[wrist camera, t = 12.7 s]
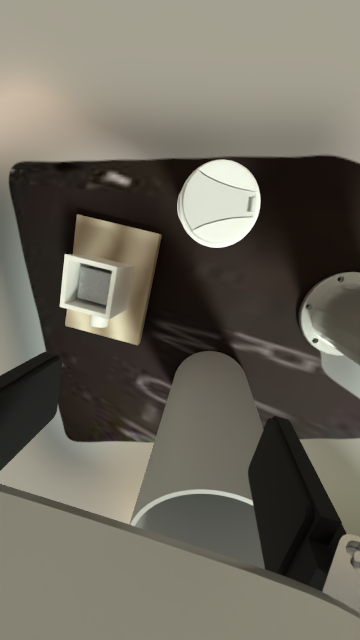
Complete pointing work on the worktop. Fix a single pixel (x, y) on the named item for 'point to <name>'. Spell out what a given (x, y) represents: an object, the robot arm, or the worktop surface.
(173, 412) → the cylinder vase
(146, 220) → the worktop surface
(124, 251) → the board
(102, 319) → the duct collar
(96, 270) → the block
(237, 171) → the paper cup
